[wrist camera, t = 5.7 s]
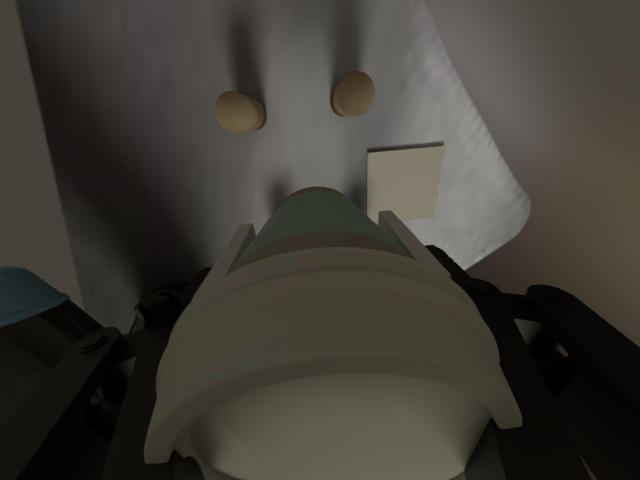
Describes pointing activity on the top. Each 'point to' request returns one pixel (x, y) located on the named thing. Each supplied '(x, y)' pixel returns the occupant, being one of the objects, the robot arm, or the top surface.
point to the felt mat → (403, 182)
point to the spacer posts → (251, 114)
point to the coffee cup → (328, 360)
